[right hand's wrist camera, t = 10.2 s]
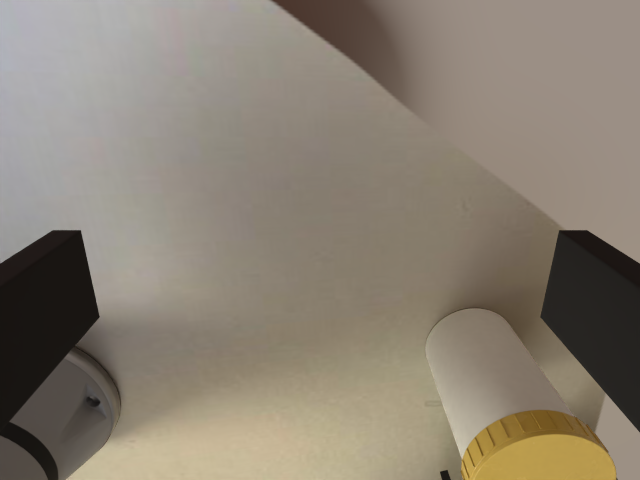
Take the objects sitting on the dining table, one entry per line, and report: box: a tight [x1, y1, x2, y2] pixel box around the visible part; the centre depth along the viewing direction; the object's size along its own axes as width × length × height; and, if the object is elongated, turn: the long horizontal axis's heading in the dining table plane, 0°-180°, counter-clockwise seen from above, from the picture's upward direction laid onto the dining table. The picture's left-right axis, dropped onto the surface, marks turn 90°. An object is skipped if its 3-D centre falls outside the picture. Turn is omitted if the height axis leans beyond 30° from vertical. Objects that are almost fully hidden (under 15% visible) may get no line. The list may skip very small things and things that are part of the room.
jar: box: [425, 308, 574, 460], centre depth 37 cm, size 9×9×15 cm
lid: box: [461, 410, 616, 480], centre depth 30 cm, size 10×10×2 cm
